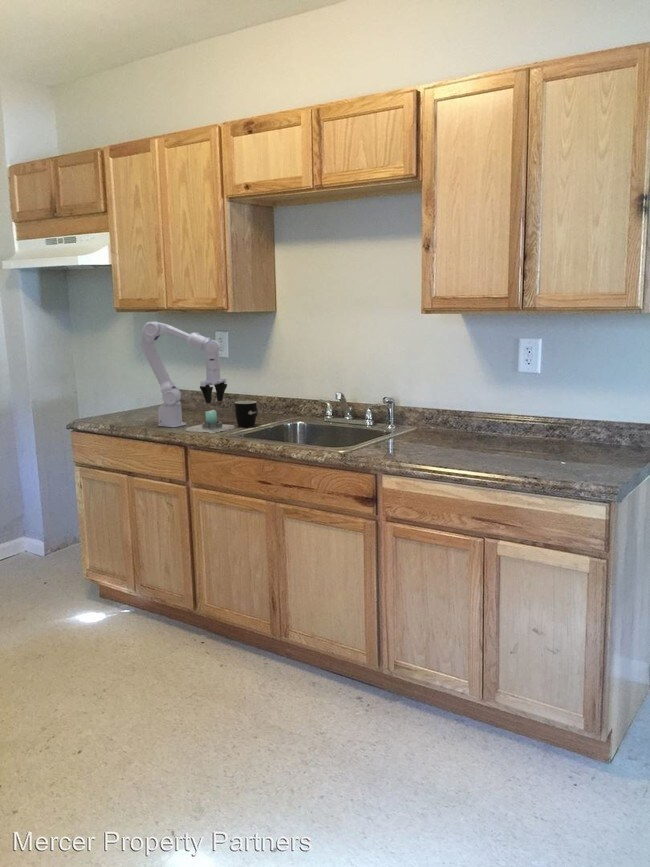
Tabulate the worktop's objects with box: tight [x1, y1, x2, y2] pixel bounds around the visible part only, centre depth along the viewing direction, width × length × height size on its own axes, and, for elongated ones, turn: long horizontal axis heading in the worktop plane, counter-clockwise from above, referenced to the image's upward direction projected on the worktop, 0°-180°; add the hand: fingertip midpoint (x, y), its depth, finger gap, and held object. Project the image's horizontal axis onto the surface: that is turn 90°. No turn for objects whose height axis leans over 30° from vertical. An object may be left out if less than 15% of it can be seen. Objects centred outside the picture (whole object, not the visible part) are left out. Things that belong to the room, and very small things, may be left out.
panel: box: [185, 420, 236, 434], centre depth 293 cm, size 14×14×3 cm
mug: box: [234, 400, 258, 428], centre depth 301 cm, size 12×9×10 cm
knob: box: [205, 409, 218, 424], centre depth 294 cm, size 4×4×6 cm
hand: (214, 402), depth 302 cm, fingers open, 7 cm apart
